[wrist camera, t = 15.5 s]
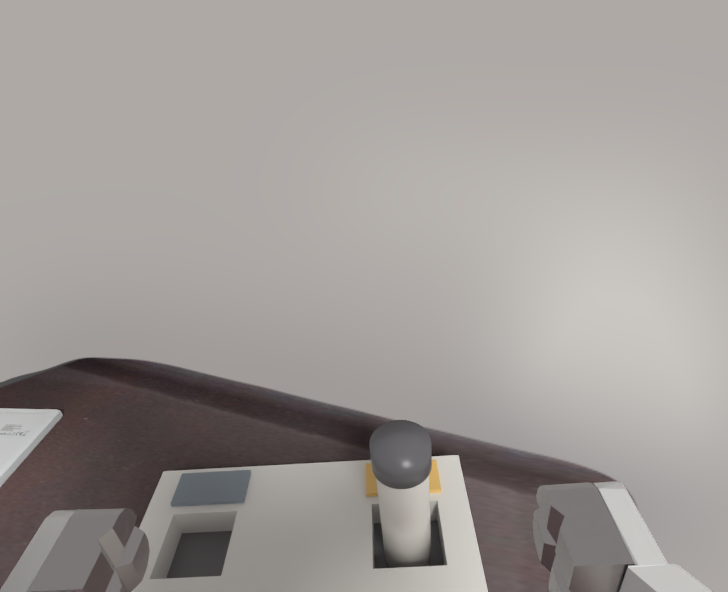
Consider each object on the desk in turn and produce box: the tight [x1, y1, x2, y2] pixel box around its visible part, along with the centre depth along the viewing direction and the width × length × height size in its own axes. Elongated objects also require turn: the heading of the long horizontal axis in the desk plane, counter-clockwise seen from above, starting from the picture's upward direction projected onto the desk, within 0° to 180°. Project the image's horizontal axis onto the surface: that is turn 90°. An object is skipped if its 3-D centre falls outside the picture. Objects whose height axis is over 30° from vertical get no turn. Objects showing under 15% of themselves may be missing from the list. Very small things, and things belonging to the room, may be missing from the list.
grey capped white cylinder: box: [369, 420, 432, 568], centre depth 34 cm, size 4×4×12 cm
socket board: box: [132, 455, 488, 592], centre depth 38 cm, size 26×12×3 cm, turn 90°
